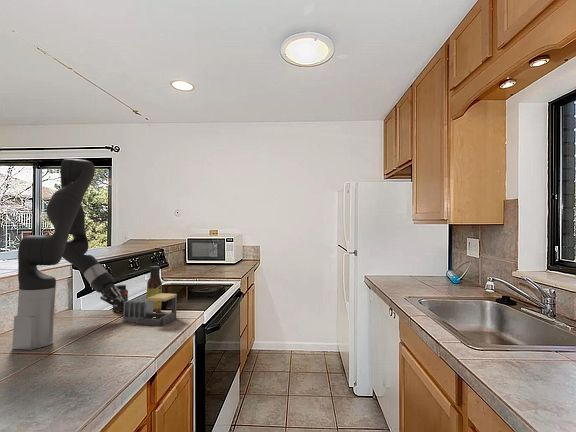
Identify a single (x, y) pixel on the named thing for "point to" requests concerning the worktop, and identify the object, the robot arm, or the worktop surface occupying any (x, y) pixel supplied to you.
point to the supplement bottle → (116, 308)
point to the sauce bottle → (154, 287)
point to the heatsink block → (137, 310)
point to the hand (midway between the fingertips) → (126, 310)
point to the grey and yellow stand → (164, 316)
